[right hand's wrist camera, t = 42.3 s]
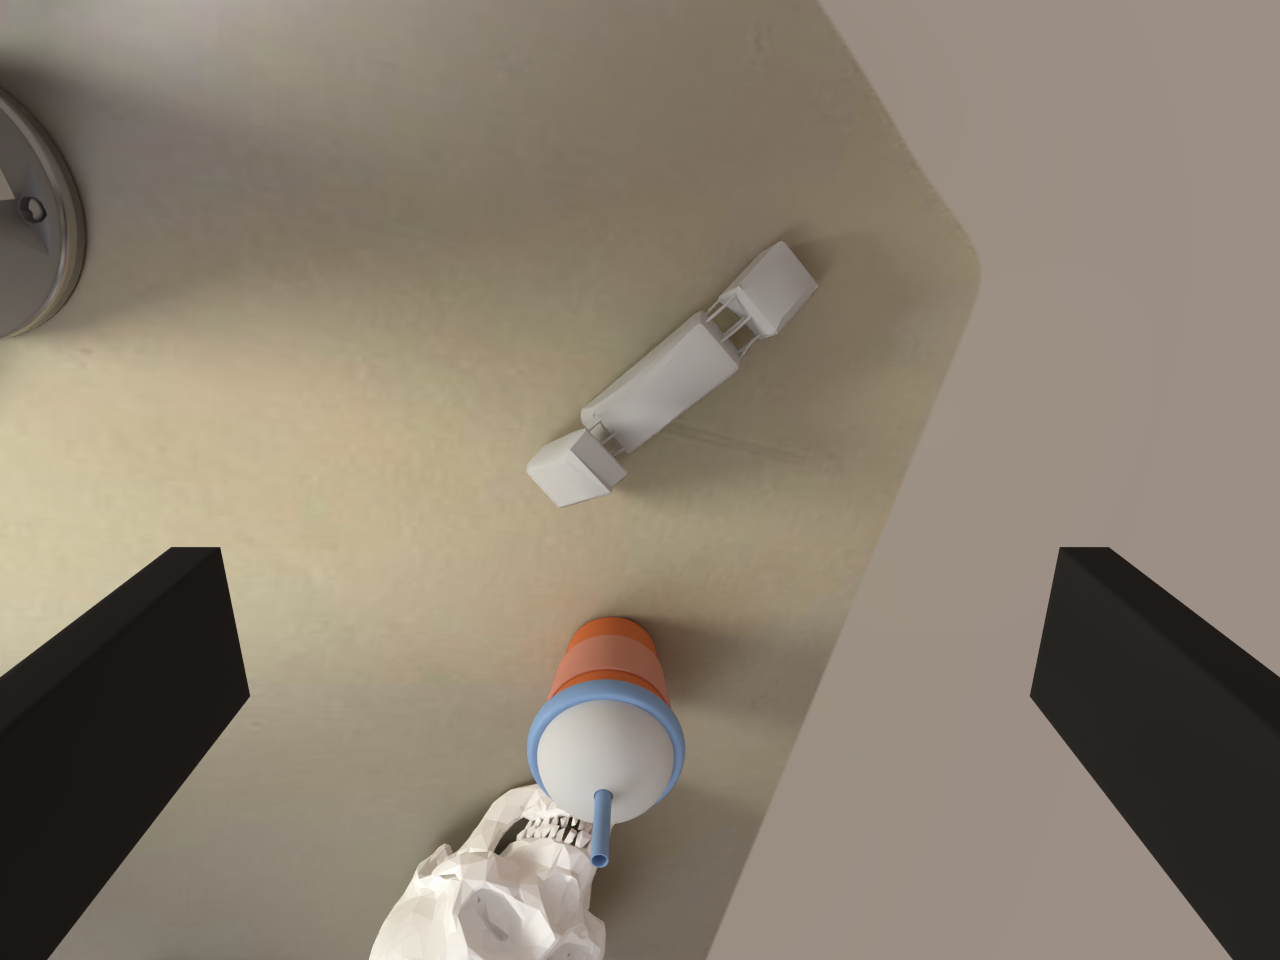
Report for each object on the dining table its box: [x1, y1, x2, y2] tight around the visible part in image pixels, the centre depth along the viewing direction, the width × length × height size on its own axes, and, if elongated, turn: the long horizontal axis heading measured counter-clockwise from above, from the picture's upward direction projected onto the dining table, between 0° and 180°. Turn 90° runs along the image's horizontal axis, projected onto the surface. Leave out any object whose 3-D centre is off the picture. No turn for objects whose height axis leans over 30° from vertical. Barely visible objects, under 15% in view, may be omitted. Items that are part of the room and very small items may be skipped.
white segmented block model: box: [527, 241, 818, 508], centre depth 45 cm, size 20×4×7 cm, turn 132°
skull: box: [369, 784, 614, 960], centre depth 54 cm, size 13×22×16 cm, turn 143°
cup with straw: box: [527, 617, 685, 868], centre depth 46 cm, size 9×9×18 cm
